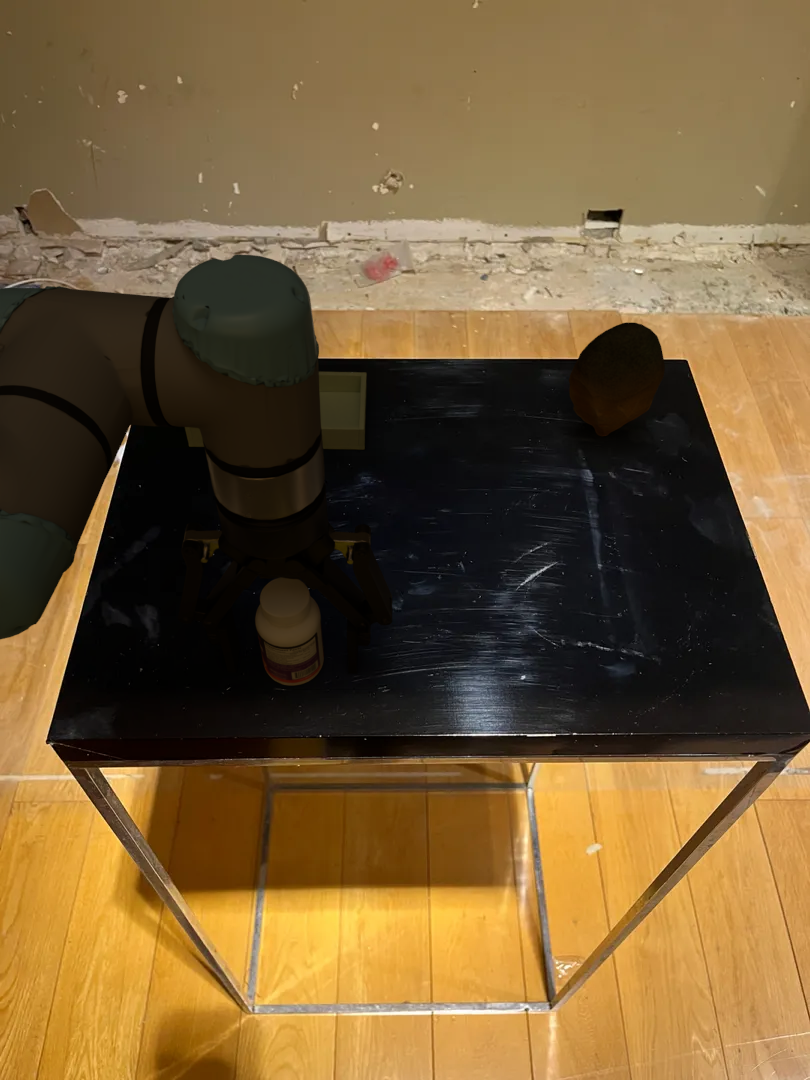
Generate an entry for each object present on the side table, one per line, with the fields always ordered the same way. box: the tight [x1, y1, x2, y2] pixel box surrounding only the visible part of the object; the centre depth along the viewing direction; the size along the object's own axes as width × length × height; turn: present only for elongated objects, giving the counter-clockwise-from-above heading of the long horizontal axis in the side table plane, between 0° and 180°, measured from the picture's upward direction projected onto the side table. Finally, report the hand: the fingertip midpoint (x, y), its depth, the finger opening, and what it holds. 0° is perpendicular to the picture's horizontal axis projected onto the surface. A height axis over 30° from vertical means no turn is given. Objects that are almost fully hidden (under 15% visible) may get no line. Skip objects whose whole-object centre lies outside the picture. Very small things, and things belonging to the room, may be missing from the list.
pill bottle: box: [254, 577, 325, 686], centre depth 69 cm, size 5×5×10 cm
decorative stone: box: [568, 321, 666, 437], centre depth 88 cm, size 10×6×15 cm, turn 90°
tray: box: [184, 371, 368, 451], centre depth 93 cm, size 19×10×3 cm, turn 90°
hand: (293, 659), depth 73 cm, fingers open, 10 cm apart
